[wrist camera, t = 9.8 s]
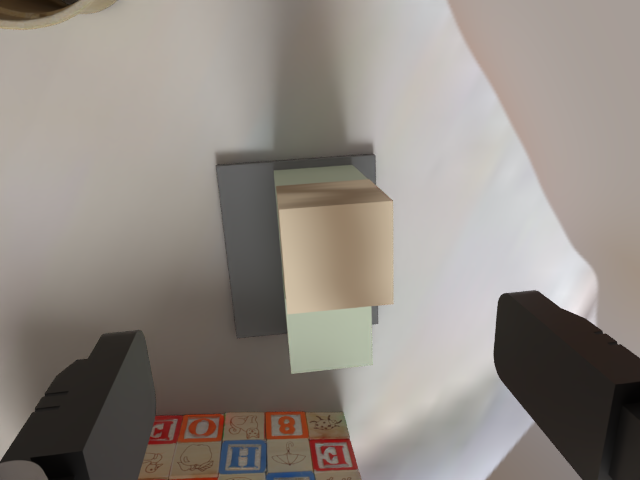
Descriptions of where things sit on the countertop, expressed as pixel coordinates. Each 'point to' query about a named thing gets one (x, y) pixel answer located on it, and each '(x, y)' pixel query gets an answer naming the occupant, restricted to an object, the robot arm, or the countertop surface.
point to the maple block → (335, 245)
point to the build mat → (263, 238)
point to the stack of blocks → (250, 447)
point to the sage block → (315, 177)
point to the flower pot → (44, 12)
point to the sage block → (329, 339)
